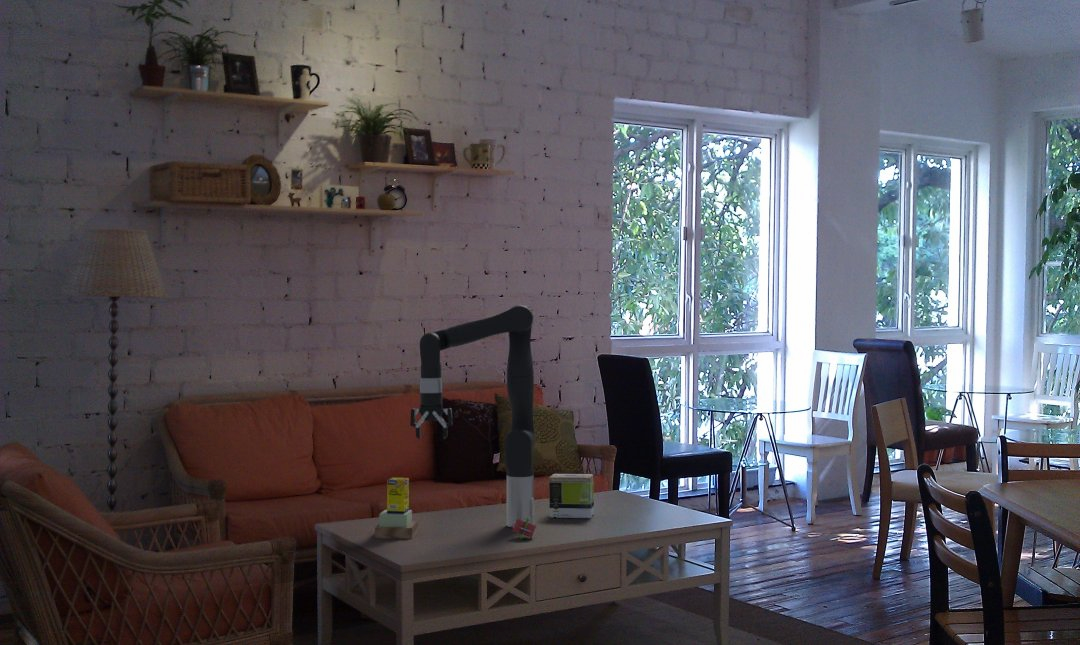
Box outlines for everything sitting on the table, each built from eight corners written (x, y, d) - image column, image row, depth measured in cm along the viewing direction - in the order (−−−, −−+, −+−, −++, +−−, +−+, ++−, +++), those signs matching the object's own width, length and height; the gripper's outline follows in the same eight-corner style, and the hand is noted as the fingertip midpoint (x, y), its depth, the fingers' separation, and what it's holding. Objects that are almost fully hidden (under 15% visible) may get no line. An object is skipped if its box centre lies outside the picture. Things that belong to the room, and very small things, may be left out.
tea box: (594, 514, 391) (594, 473, 391) (590, 519, 381) (590, 477, 381) (553, 513, 394) (553, 472, 394) (548, 518, 384) (548, 476, 384)
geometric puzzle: (538, 529, 352) (524, 509, 351) (542, 533, 345) (527, 513, 344) (521, 543, 351) (506, 523, 350) (524, 547, 344) (509, 527, 343)
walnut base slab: (417, 533, 359) (417, 521, 359) (412, 540, 347) (412, 528, 347) (381, 532, 359) (381, 520, 359) (374, 540, 347) (374, 527, 347)
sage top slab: (411, 522, 357) (411, 510, 357) (406, 527, 348) (406, 514, 348) (385, 521, 358) (385, 509, 358) (379, 526, 349) (379, 514, 349)
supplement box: (404, 514, 350) (404, 480, 350) (386, 513, 350) (386, 479, 350) (409, 510, 356) (409, 477, 356) (391, 510, 356) (391, 477, 356)
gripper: (453, 390, 371) (453, 437, 371) (412, 390, 372) (412, 437, 372) (450, 391, 364) (451, 439, 364) (408, 392, 365) (409, 440, 365)
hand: (431, 438), depth 368 cm, fingers open, 8 cm apart
